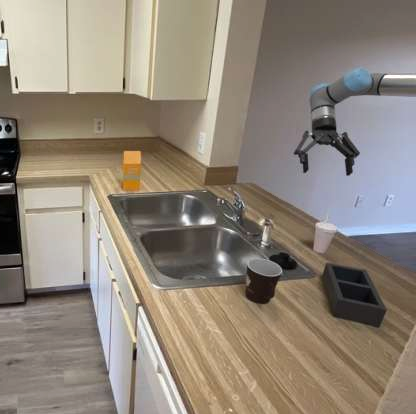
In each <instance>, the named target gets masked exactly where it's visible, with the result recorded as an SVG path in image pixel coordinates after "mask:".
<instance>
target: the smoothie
mask: <svg viewBox="0 0 416 414" xmlns="http://www.w3.org/2000/svg"><path fill="white" fill-rule="evenodd" d="M329 218H330V213H327V214H326V217H325V221H318V222H316V223H315V226H314V227H315V232H314V240H313V241H314V242H313V251H314V252H316V253H318V254H325V253H326V252H327V250H328V248H329V246H330V244H331V242H332V240H333V238H334V237H335V234H336V233H337V232H338V226H336V225H335V224H333V223H330V222H328V221H329Z"/></svg>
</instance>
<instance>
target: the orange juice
mask: <svg viewBox="0 0 416 414" xmlns="http://www.w3.org/2000/svg"><path fill="white" fill-rule="evenodd" d="M122 160H123V161H122V191H140V190H141V171H142V151H141V150H124V151H123V159H122Z"/></svg>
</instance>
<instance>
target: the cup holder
mask: <svg viewBox="0 0 416 414" xmlns="http://www.w3.org/2000/svg"><path fill="white" fill-rule="evenodd" d="M321 281H322V285H323V288H324V292H325V295H326V298H327V299H326V300H327V302H328V306H329V309H330V313H331V317H333V318H338V319H342V320H345V321H349V322H350V321H351V322H354V323H358V324H363V325H367V326H371V327H376V328H380V327H381V324H382V323H383V320H384V317H385V315H386V313H387V311H388V309H387V308H386V305H385V304H384V302H383V299H382V297H381V296H380V294H379V292H378V290H377V288H376V286H375V284H374V282H373V280H372V278H371V277H370V275H369V273H368V270H367V269H364V268H362V269H361V268H357V267H353V266H347V265H341V264H337V263H336V264H335V263H330V262H325V265H324V268H323V272H322V275H321Z"/></svg>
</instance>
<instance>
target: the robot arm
mask: <svg viewBox="0 0 416 414" xmlns="http://www.w3.org/2000/svg"><path fill="white" fill-rule="evenodd" d="M359 96H375V97H377V96H378V97H379V96H380V97H381V96H383V97H406V98H416V72H408V73H406V72H404V73H403V72H402V73H400V72H399V73H395V72H394V73H391V72H389V73H380V72H373V73H370V72H369V71H368V70H367V69H365V68H363V67H357V68H354V69H353V70H350V71H348V72H347V73H345V74H344V75H342V76H341V77H340V78H338V79H337V80H335V81H334V82H332V83H330V84H329V83H321V84H319V85H318V84H317V85H316V86H314V87H312V89H311V90H310V91H309V106H310V123H311V132H310V131H309V130H305V131H304V132H303V134H302V138H301V141H300V142H299V143H298V146H297V147H296V148H295V150H294V152H293V155H294V156H296V155H297V156H298V158H299V164H301V165H302V173H303V174H306V173H307V172H308V171H309V169H310V167H309V153H308V152H309V151H310V150H311V149H313V147H314V146H316V145H317V144H318V145H319V146H330V147H332V148H335V149H336V150H337V151H338V152H339V153H340V154H341V155H343V157H345V158H344V167H345V175H346V176H347V177H350V176H351V175H352V174H353V172H354V169H353V166H354V165H355V159H356V158H357V157H358V156H359V155H361V152H360V150H359V149H358V148H357V147H356V145H355V144H354V143H353V141H352V140H351V139H350V137H349V135H348V132H346V131H344V132H343V133H339V132H338V131H337V129H338V128H337V119H336V108H335V107H336V105H338V104H339V103H341V102H343V101H345V100H347V99H349V98H350V97H359ZM309 138H311V139H312V141H311V142H310V143H309V144H308V145H307V146H306V147H305V148H303V149H302V147H304V145H305V143H306V141H307V140H308V139H309ZM301 149H302V150H301Z"/></svg>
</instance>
